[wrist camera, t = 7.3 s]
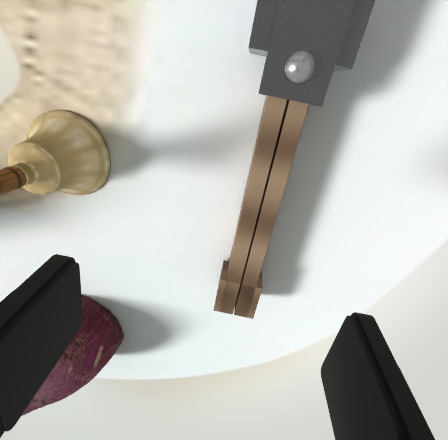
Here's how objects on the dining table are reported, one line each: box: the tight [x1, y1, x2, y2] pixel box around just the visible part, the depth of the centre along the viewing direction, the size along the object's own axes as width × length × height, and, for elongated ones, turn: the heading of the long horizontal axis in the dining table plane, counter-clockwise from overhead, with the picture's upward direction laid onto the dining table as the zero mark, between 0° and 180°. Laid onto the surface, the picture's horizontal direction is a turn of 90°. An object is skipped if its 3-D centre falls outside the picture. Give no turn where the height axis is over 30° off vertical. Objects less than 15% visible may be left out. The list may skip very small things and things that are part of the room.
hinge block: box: [249, 0, 375, 107], centre depth 20 cm, size 8×7×6 cm
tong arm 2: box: [214, 95, 287, 314], centre depth 27 cm, size 22×2×4 cm, turn 170°
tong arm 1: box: [234, 100, 309, 319], centre depth 27 cm, size 22×2×4 cm, turn 170°
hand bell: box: [0, 110, 110, 195], centre depth 22 cm, size 8×8×16 cm
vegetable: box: [21, 296, 124, 416], centre depth 34 cm, size 10×10×15 cm
